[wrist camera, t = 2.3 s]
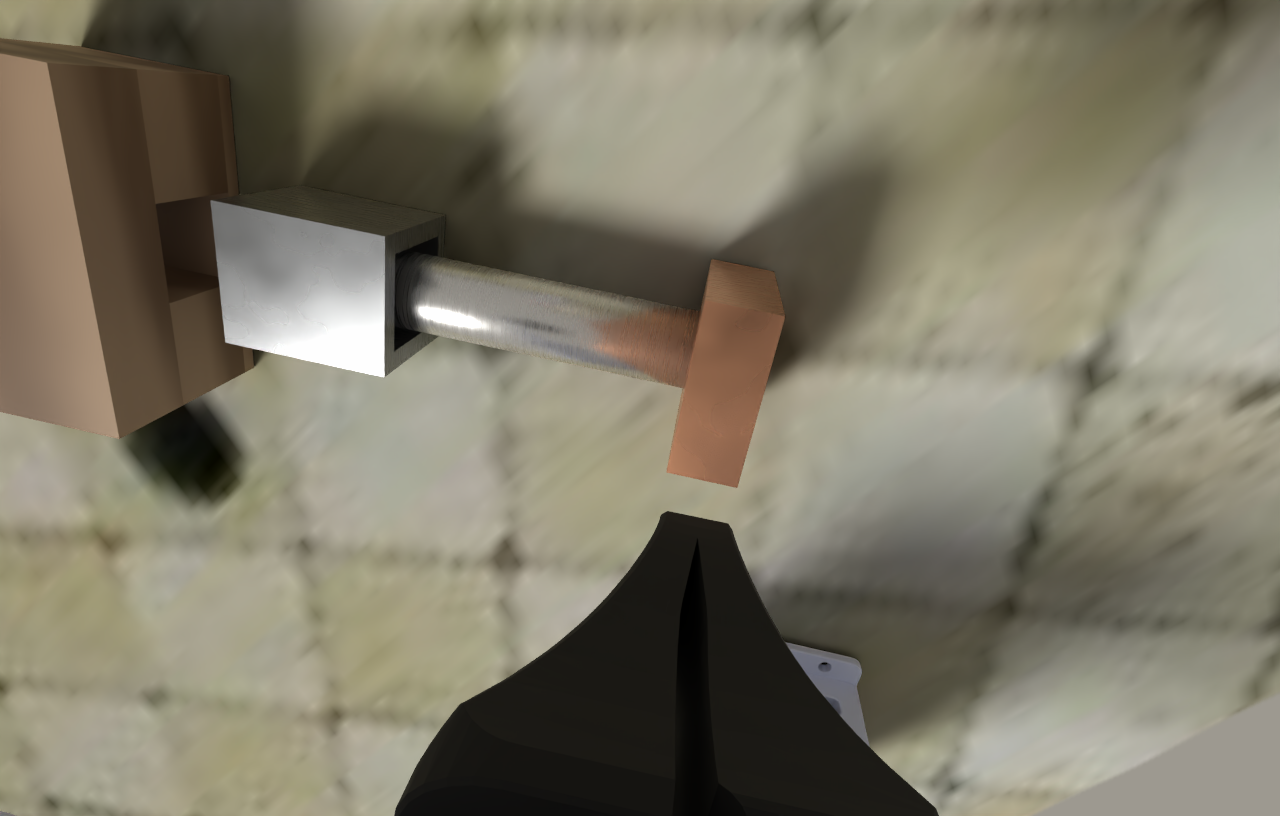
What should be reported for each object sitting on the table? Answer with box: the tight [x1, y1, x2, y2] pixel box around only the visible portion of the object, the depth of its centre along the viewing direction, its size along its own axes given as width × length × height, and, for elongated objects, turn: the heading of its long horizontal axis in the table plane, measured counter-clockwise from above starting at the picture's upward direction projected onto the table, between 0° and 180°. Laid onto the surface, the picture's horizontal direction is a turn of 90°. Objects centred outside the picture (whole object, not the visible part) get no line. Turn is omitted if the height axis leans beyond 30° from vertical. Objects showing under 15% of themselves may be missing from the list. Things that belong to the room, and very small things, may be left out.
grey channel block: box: [210, 185, 445, 377], centre depth 21 cm, size 5×4×4 cm
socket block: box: [0, 38, 254, 439], centre depth 20 cm, size 5×10×6 cm, turn 170°
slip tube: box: [394, 250, 785, 488], centre depth 20 cm, size 16×5×5 cm, turn 80°
